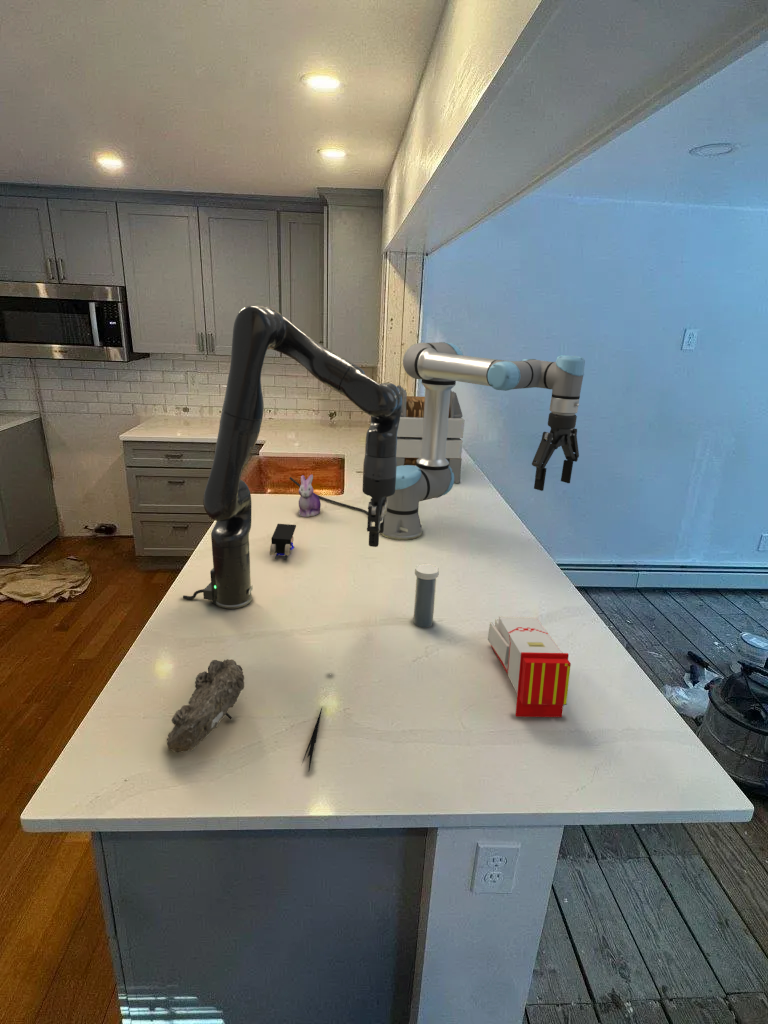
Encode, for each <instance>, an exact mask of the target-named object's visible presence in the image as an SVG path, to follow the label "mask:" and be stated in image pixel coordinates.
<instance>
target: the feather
mask: <svg viewBox="0 0 768 1024" xmlns="http://www.w3.org/2000/svg"><path fill="white" fill-rule="evenodd" d="M329 675H330V676H331V675H332V674H331V673H330V674H329ZM322 710H323V707H321V708H320V710H319V713H318V716H317V719H316V723H315V725H314V728H313V731H312V733H311V737H310V739H309V742H308V745H307V748H306V751H305V754H304V757H303V760H302V763H301V767H302V765H303V763H304V761H305V758H308V759H309V760H308V762H307V763H308V764H307V766H308V771H310V770H311V766H312V765H311V764H312V760H313V757H315V756H314V755H315V751H316V749H315V746H317V739H318V733H319V729H320V722H321V717H322V712H323V711H322ZM313 754H314V755H313ZM306 755H307V757H306Z"/></svg>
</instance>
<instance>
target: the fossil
mask: <svg viewBox="0 0 768 1024" xmlns="http://www.w3.org/2000/svg"><path fill="white" fill-rule="evenodd" d="M243 670H244V669H243V667H242V665H240V664H237V662H236V661H235V660H234V659H232V658H231V659H227V658H226V659H224V660H223V661H222V660H217V659H212V660H211V661H210V663H209V665H208V666H207V671H201V672H199V673H198V674H197V675H196V676H195V680H194V684H195V685H194V687H195V689H194V690H193V693H192V694H191V697H190V698H189V700H188V704H184V705H182V706H181V707H180V709H177V710H176V711H175V713H174V715H173V716H172V718H171V723H172V724H173V727H172V730H171V731H170V732H168V734H167V738H166V741H167V742H166V745H167V749H168V750H169V751H173V752H174V753H176V754H178V753H182V752H188V751H189V752H192V751H193V750H195V748H196V747H197V746H199V744H200V743H201V742H203V741H204V740H205V739H206V738H207V737H208V736H209V735H210V734H211V733H212V732H214V730H215V729H217V727H218V726H219V724H220V722H221V721H222V720H223V719H224V718H225V716H226V717H227V719H229V720H233V717H232V715H230V714H229V710H230V709H231V708H234V706H235V704H236V703H237V702H238V699H239V697H240V695H241V693H242V691H243V690H245V689H244V688H245V675H244V671H243Z"/></svg>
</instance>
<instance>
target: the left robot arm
mask: <svg viewBox="0 0 768 1024" xmlns="http://www.w3.org/2000/svg"><path fill="white" fill-rule="evenodd" d="M268 350H273V351H276V352H278V353H281V354H283V355H285V356H287V357H290V358H291V359H293V360H294V361H295V362H297V363H299V364H300V365H301V366H302V367H303V368H304V369H306V370H307V371H308V373H310V374H311V375H312V376H313V377H314V378H315V379H317V380H318V381H319V382H320V383H322V384H324V385H325V386H327V387H328V388H330V389H332V390H333V391H335V392H336V393H338V394H340V395H342V396H344V397H346V398H347V399H348V400H349V401H350V402H351V403H352V404H354V405H355V406H356V407H357V408H359V410H361V411H362V412H364V413H365V414H366V415H368V416H370V423H369V427H368V428H367V431H366V434H365V444H364V459H363V466H362V467H363V469H362V493H363V494H364V495H366V496H369V497H371V498H370V501H369V502H368V504H367V512H368V515H367V526H366V531H367V532H368V546H369V547H373V548H378V547H379V544H380V533H383V531H384V518H385V516H386V514H385V513H386V512H387V503H388V500H387V497H389V496H392V495H393V494H394V493H395V485H396V469H397V461H396V451H397V431H398V426H399V422H400V416H401V410H402V395H401V392H400V390H399V389H398V387H397V386H398V385H396V384H394V383H391V382H382V383H381V382H380V383H379V382H377V381H375V380H374V379H372V378H370V376H368V375H366V374H365V371H364V370H363V368H361V367H360V366H358V365H357V364H356V363H353V362H352V361H350V360H348V359H347V358H345V357H343V356H341V355H340V354H338V353H337V352H335V351H333V350H331V349H329V348H328V347H326V346H324V345H323V344H321V343H319V342H318V341H316V340H315V339H313V338H312V337H310V336H309V335H308V334H306V333H305V332H303V331H302V330H301V329H299V328H298V327H297V326H296V325H294V323H292V322H291V321H290V320H289V319H288V318H287V317H285V316H284V315H283V314H281V312H279V311H278V310H277V309H275V308H273V307H271V306H267V305H248V306H245V307H243V308H241V310H239V312H238V313H237V315H236V316H235V319H234V322H233V328H232V339H231V354H230V365H229V372H228V377H227V381H226V389H225V394H224V399H223V404H222V408H221V414H220V419H219V426H218V432H217V438H216V443H215V448H214V449H215V450H214V456H213V461H212V465H211V468H210V472H209V476H208V479H207V483H206V485H205V489H204V493H203V496H202V497H203V498H202V502H203V508H204V511H205V513H206V515H207V516H208V517H209V518H210V519H211V520H213V521H216V522H215V525H214V527H213V528H212V530H211V534H210V539H211V540H210V541H211V552H212V553H211V554H212V555H211V556H212V568H211V569H210V572H209V573H210V583H208V585H207V586H206V587H205V588H202V589H197V590H196V591H194V593H193V594H192V595H185V594H184V595H182V598H183V599H185V600H194V599H195V598H196V597H197V595H198V594H203V595H202V596H203V600H206V601H207V600H208V601H211V603H212V604H213V605H216V606H217V607H219V608H223V609H226V610H227V609H239V608H243V607H246V606H247V605H249V604H250V603H251V602H252V600H253V599H252V598H253V597H252V596H253V595H252V591H253V585H252V584H251V583H252V581H251V579H252V577H251V560H250V559H251V556H250V531H251V528H252V496H251V491H250V487H249V486H248V485H247V483H246V482H245V481H244V480H242V479H241V476H242V474H243V473H242V472H243V470H244V467H245V465H246V463H247V461H248V460H249V457H251V454H252V452H253V450H254V448H255V446H256V443H257V441H258V438H259V435H260V432H261V429H262V427H261V426H262V422H263V418H264V411H265V403H264V396H263V390H262V371H263V367H264V361H265V358H266V354H267V351H268ZM373 523H374V525H373Z"/></svg>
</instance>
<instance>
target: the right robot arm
mask: <svg viewBox="0 0 768 1024" xmlns="http://www.w3.org/2000/svg"><path fill="white" fill-rule="evenodd" d="M585 365H586V360H585V358H584V357H582V356H578V355H566V354H565V355H564V354H563V355H558V356H557V357H556V360H555V361H549V360H541V359H536V358H524V359H521V360H506V359H505V360H504V359H503V360H502V359H496V358H487V357H479V356H471V355H464V354H463V352H462V350H461V349H460V347H459V346H457V345H456V344H455V343H451V342H445V341H443V342H442V341H441V342H440V341H439V342H438V341H437V342H417V343H414V344H412V345H411V346H409V347H408V348H407V350H406V351H405V353H404V355H403V358H402V366H403V369H404V372H405V373H406V374H407V375H408V376H409V377H411V378H412V379H415V380H421V385H422V386H423V387H424V389H425V392H424V397H425V404H424V419H423V434H422V449H421V457H420V458H418V459H417V461H416V466H413V465H401V466H397V469H396V485H395V493H394V494H393V495H392V496H389V497H387V500H388V503H387V512H386V513H385V514H386V516H385V518H384V531H383V533H379V535H381V536H382V537H385V538H387V539H389V540H395V541H410V540H415V539H418V538H420V537H421V536H422V535H423V525H422V524H421V518H420V515H419V507H420V506H419V505H420V502H423V501H427V500H431V499H437V498H440V497H443V496H446V495H448V493H450V492H451V490H452V489H453V488H454V487H453V486H454V484H455V483H454V473H452V469H451V467H450V466H449V462H448V461H447V459H446V458H445V453H446V441H447V428H448V416H449V404H450V392H451V391H452V389H453V388H454V387H455V386H456V384H457V382H461V383H465V384H473V385H479V386H487V387H491V388H492V389H494V390H496V391H503V392H504V391H511V390H520V389H532V388H533V389H534V388H539V389H546V390H551V398H550V404H549V413H548V418H547V419H548V420H547V426H548V427H549V428H550V431H549V432H548V431H543V432H542V435H541V440H540V442H539V445H538V447H537V449H536V452H535V454H534V457H533V460H532V461H531V466H533V467H535V475H534V477H535V478H534V485H533V489H534V490H537V491H539V492H543V491H544V489H545V484H546V483H545V482H546V476H547V468H546V466H547V465H548V463H549V461H550V459H551V457H552V456H553V454H554V453H555V451H556V450H557V449H558V448H560V447H561V449H562V452H563V455H564V458H565V459H563V463H562V468H561V469H562V470H561V475H560V482H562V483H566V484H571V478H572V472H573V466H574V463H576V462H578V461H579V457H580V453H579V444H578V428H576V423H577V419H578V416H577V414H578V412H579V411H578V410H579V406H580V397H581V391H582V385H583V380H584V376H585ZM289 480H290V481H291V482H293V483H294V484H295V485H296V486H297V487H298V488H300V486H301V483H299V482H298V481H297V480H295V478H293V477H291V476H290V477H289ZM316 495H317V496H318V497H319V499H320V500H323V501H326V502H328V503H331V504H335V505H338V506H341V507H345V508H348V509H352V510H355V511H359V512H362V513H364V514H366V515H367V516H368V510H366V509H363V508H360V507H358V506H357V507H356V506H353V505H350V504H346V503H343V502H339V501H337V500H332V499H329V498H327V497H324V496H321V495H319V494H316Z"/></svg>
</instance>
